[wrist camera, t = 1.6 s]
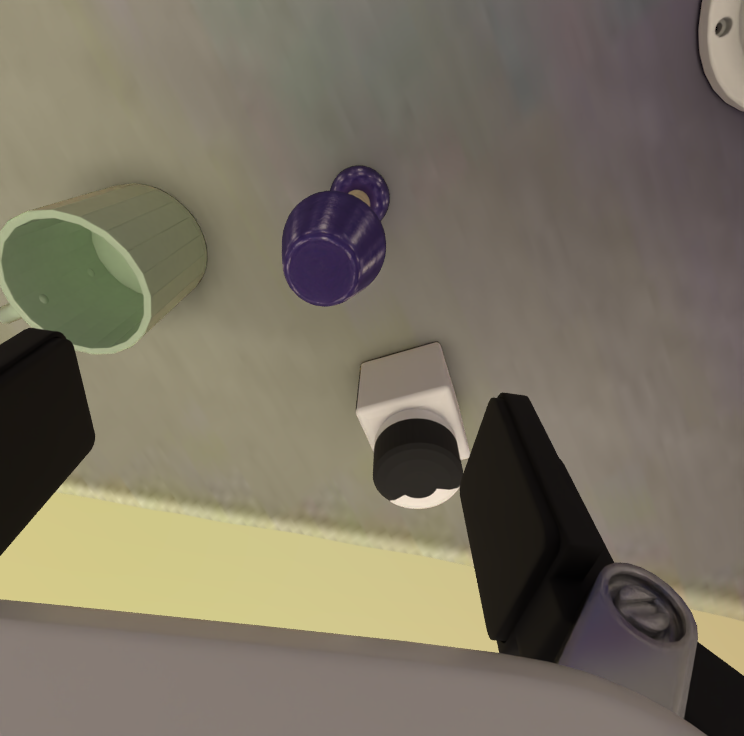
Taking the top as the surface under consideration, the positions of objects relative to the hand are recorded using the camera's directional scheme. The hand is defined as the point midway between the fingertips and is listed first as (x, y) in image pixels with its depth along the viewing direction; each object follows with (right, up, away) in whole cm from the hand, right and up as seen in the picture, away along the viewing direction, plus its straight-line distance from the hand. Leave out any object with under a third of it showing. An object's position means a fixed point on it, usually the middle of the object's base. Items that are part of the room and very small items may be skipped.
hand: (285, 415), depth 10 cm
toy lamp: (+1, +13, +21) cm, 25 cm away
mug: (-17, +10, +23) cm, 30 cm away
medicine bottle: (+5, 0, +29) cm, 29 cm away
